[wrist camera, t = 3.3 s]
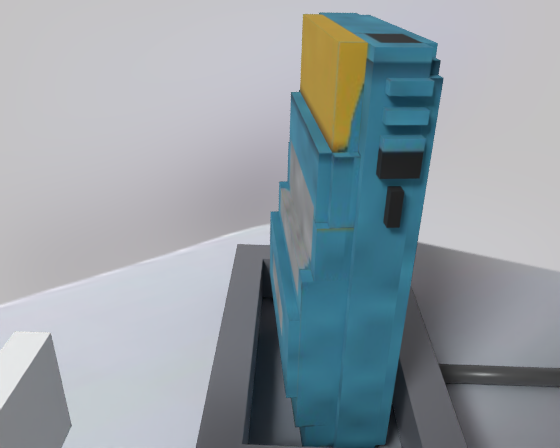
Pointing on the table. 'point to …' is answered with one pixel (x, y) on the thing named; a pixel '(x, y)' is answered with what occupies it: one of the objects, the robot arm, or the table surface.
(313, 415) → the handheld gaming console
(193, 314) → the table surface
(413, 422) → the charging dock
